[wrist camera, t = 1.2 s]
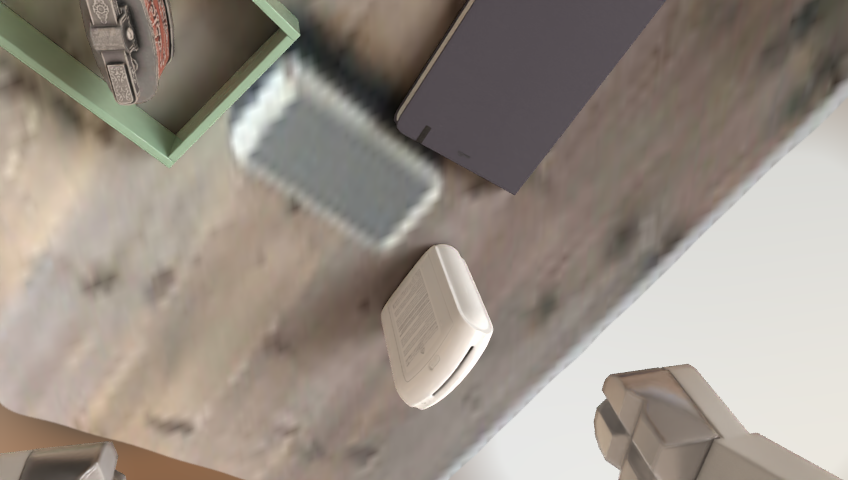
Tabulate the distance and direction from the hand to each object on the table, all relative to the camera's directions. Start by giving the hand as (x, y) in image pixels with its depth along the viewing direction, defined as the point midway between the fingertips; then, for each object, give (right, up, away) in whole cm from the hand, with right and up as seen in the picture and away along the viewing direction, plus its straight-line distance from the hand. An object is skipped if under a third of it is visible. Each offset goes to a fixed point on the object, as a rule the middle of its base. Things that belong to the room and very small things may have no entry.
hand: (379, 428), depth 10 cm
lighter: (-18, +19, +30) cm, 40 cm away
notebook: (+9, +18, +37) cm, 42 cm away
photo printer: (0, -1, +48) cm, 48 cm away
